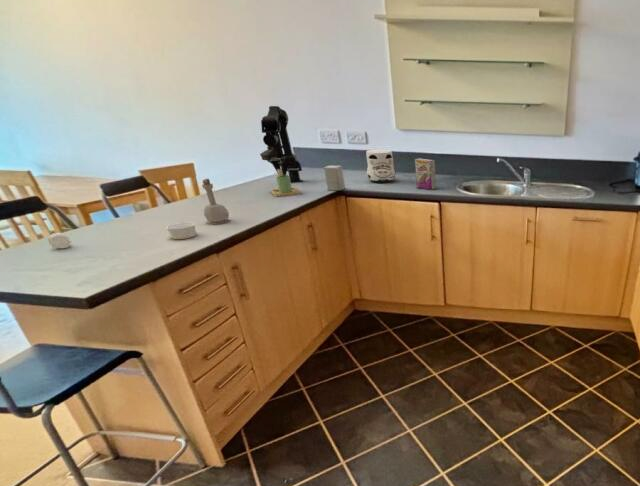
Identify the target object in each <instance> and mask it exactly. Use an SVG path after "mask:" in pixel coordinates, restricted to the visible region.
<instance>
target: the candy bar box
mask: <svg viewBox="0 0 640 486" xmlns="http://www.w3.org/2000/svg"><path fill="white" fill-rule="evenodd" d="M414 168H415V169H414V170H415V180H416V181H415V183H416V184H415V185H416V189H425V190H430V191H433V190H436V189H437V177H436V160H434V159H426V158H420V157H419V158H415V159H414Z"/></svg>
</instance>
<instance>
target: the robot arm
mask: <svg viewBox="0 0 640 486" xmlns="http://www.w3.org/2000/svg"><path fill="white" fill-rule="evenodd" d="M260 124H261V125H260V126H261V127H260V128H261V133H262V134H265V135H263V138H262V141H263V143H264V145H266V146H267V149H266V150H264V151H262V152H261V153H260V154H259V155H260V157H261V160H263V161H266V162H268V163H269V164H271V165H272V166H273V168H274V169H275V171H276V173H277V174H278V172H277V169H282V172H283V175H286V174H287V173H288V176H289V177H290V182H291V183H297V182H298V183H299V182H303V180H302V179H301V177H300V172H302V171H303V168H302V164H301V163H300V161H299V160H298V158H297V156H296V155H295V154H294V152H293V150H292V149H293V148H292V145H291V141H290V136H289V132H288V129H287V127H288V124H289V114H288V113H287V111H286V110H284V109H282V108H281V107H280V106H279V105H270V106H268V112H267V115H264V116H262V118H261V120H260Z"/></svg>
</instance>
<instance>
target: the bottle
mask: <svg viewBox="0 0 640 486" xmlns="http://www.w3.org/2000/svg"><path fill="white" fill-rule="evenodd" d="M275 178H276V183H277V189H279V192H280V193H290V192H292V188H293V187H292V182H290V177H289V174H288V175H284V176H280V175H276V177H275Z"/></svg>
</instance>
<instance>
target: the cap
mask: <svg viewBox="0 0 640 486" xmlns="http://www.w3.org/2000/svg"><path fill="white" fill-rule="evenodd" d="M277 172H278V173H277ZM276 173H277V176H279V175H280V176H284V175H283V172H282V169H277V171H276ZM286 175H287V173H286Z"/></svg>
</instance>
